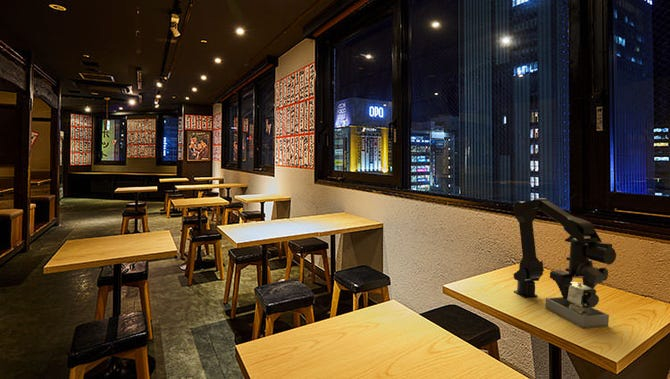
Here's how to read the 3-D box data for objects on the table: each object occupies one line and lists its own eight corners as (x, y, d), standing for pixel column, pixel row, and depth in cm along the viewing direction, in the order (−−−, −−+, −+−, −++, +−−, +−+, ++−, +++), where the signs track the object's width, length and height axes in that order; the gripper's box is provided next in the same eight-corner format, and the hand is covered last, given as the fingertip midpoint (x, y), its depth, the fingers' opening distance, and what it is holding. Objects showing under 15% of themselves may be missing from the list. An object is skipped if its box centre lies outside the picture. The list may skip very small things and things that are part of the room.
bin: (545, 308, 131) (545, 298, 131) (567, 306, 133) (568, 296, 132) (582, 328, 115) (583, 317, 115) (608, 326, 117) (609, 315, 117)
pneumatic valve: (568, 307, 130) (571, 276, 129) (597, 321, 119) (600, 288, 118) (556, 308, 129) (558, 277, 128) (584, 322, 118) (587, 289, 117)
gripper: (577, 264, 112) (573, 309, 114) (623, 261, 116) (619, 306, 117) (549, 255, 123) (547, 296, 125) (593, 253, 127) (590, 293, 128)
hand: (576, 298), depth 123 cm, fingers open, 9 cm apart
